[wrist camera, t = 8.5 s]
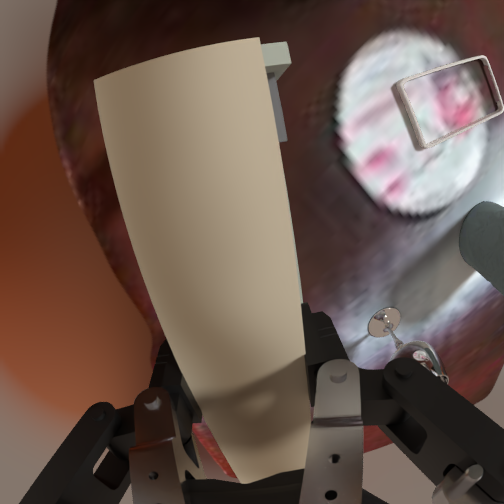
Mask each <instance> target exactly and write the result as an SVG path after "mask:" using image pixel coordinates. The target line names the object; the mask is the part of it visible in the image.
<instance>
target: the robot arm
mask: <svg viewBox="0 0 504 504" xmlns="http://www.w3.org/2000/svg"><path fill="white" fill-rule="evenodd" d="M301 311H302V321H303V331H304V341H305V352H306V354H304V358H305V366H306V375H307V385H308V394H309V400H310V404H311V407H314V406H315V407H314V417H313V421H312V422H311V426H310V433H309V441H308V448H307V456H306V463H305V468H303V469H298V470H292V471H286V472H280V473H277V474H275V475H272V476H269V477H266V478H263V479H261V480H258V481H255V482H251V483H248V484H242V483H235V482H228V481H222V480H216V479H207V478H206V476H205V474H204V471H203V468H202V464H201V460H200V457H199V453H198V449H197V445H196V441H195V437H194V434H193V433H192V423H201V421H202V411H201V409H200V407H199V405H198V403H197V402H196V400H195V398H194V396H193V394H192V392H191V390H190V388H189V386H188V384H187V382H186V380H185V378H184V376H183V374H182V372H181V370H180V368H179V366H178V363H177V361H176V359H175V357H174V354H173V352H172V350H171V348H170V345H169V343H168V340H167V339H166V340H165V341H164V342H163V344H162V345H161V346H160V349H159V352H158V357H157V359H156V364H155V366H154V370H153V373H152V377H151V381H150V384H149V388H148V389H145V390H144V391H142V392H141V393H140V394H139V395H138V396H137V397H136V399H135V401H134V404H133V405H130V406H127V407H124V408H120V409H115V408H114V407H113V406H112V404H110V403H108V402H99V403H96V404H94V405H92V406H91V407H90V408H89V409H88V410H87V411H86V412H85V414H84V415H83V416H82V417H81V419H80V420H79V421H78V423H77V424H76V426H75V427H74V428H73V429H72V431H71V432H70V433H69V435H68V436H67V437H66V439H65V440H64V442H63V443H62V444H61V446H60V447H59V448H58V450H57V451H56V453H55V454H54V456H52V458H51V459H50V461H49V462H48V463H47V465H46V466H45V468H44V469H43V470H42V472H41V473H40V474H39V476H38V477H37V479H36V480H35V482H34V483H33V484H32V486H31V487H30V489H29V490H28V492H27V493H26V494H25V496H24V497H23V499H22V500H21V502H20V503H19V504H119V502H120V501H121V499H122V497H123V495H124V494H125V492H126V490H127V489H128V487H129V485H130V483H131V488H132V495H133V504H388V503H387V502H385V501H383V500H381V499H380V498H378V497H376V496H374V495H373V494H371V493H369V492H368V491H366V490H364V489H363V488H362V482H363V481H362V480H363V425H378V427H379V428H380V429H381V430H382V431H383V432H384V433H385V434H386V435H387V436H388V437H389V438H390V439H391V440H392V441H393V443H395V444H396V446H397V447H398V448H399V449H400V450H401V451H402V452H403V453H404V454H406V456H407V457H408V458H409V459H410V460H411V461H412V462H413V463H414V464H415V465H416V466H417V467H418V468H419V469H420V470H421V471H422V472H423V473H424V474H425V475H426V476H427V477H428V478H429V479H430V480H431V481H432V482H433V483H434V484H435V485H436V488H435V490H434V492H433V495H432V503H433V504H504V429H503V428H502V427H500V426H499V425H498V424H497V423H495V422H494V421H493V420H491V419H490V418H489V417H488V416H487V415H485V414H484V413H483V412H482V411H480V410H479V409H478V408H476V407H475V406H474V405H473V404H471V403H470V402H469V401H468V400H466V399H465V398H464V397H463V396H461V395H460V394H459V393H457V392H456V391H455V390H454V389H452V388H451V387H450V386H449V385H447V384H446V383H445V382H443V381H442V380H441V379H440V378H438V377H437V376H436V375H434V374H433V373H432V372H431V371H429V370H428V369H427V368H425V367H424V366H423V365H422V364H420V363H419V362H418V361H416V360H414V359H412V358H407V357H400V358H396V359H393V360H391V361H390V362H389V363H388V364H387V365H386V366H385V368H384V369H380V370H367V369H362V368H359V367H357V366H356V365H355V364H354V363H353V362H351V361H350V360H349V358H348V356H347V354H346V352H345V349H344V347H343V345H342V343H341V340H340V338H339V336H338V334H337V331H336V329H335V327H334V325H333V322H332V320H331V318H330V317H329V316H328V315H326V314H325V313H324V312H317V313H311V310H310V308H309V305H308V303H307V302H306V303H301ZM106 447H107V448H108V449H109V452H108V453H107V455H106V456H105V458H104V459H103V461H102V462H101V464H100V465H99V467H98V469H97V470H96V472H95V473H94V474H93V468H94V465H95V464H96V462H97V461H98V459H99V458H100V456H101V455H102V453H103V452H104V450H105V449H106Z"/></svg>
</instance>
